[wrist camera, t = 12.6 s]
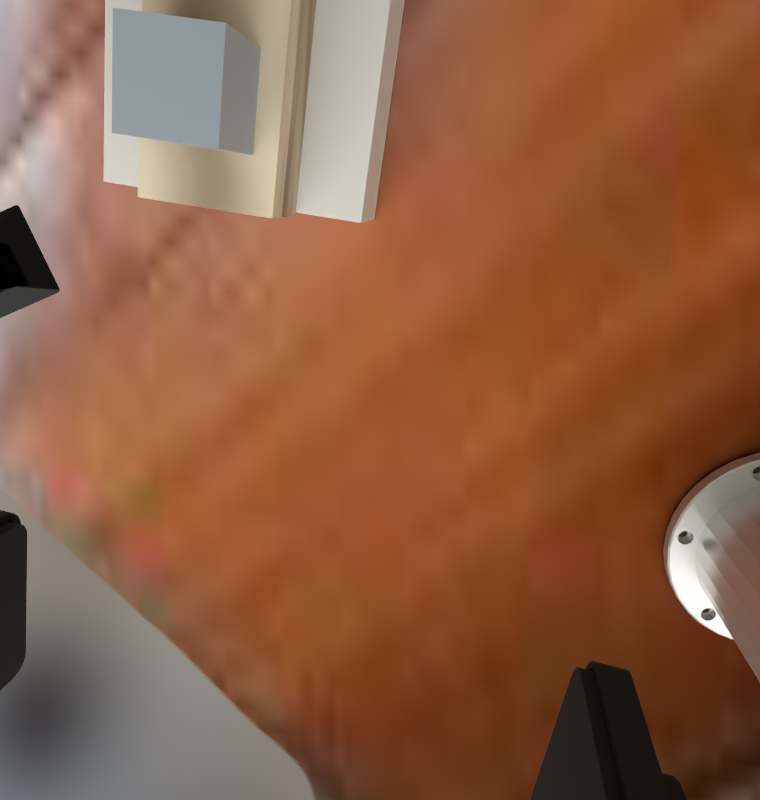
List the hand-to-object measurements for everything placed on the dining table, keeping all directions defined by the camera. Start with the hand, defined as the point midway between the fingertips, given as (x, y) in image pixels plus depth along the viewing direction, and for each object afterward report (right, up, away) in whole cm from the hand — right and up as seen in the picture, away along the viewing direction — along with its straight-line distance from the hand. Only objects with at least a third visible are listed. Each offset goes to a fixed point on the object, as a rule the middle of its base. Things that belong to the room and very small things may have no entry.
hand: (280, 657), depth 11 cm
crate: (-5, +17, +16) cm, 23 cm away
